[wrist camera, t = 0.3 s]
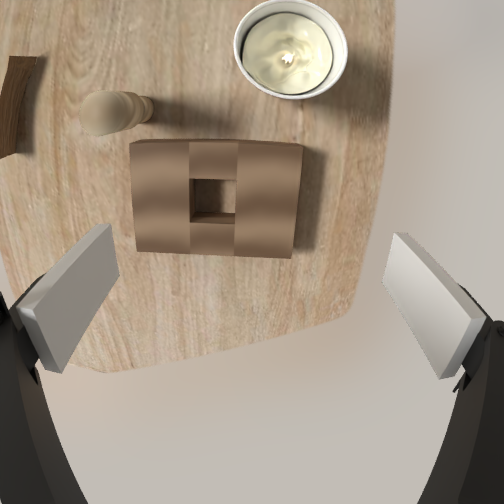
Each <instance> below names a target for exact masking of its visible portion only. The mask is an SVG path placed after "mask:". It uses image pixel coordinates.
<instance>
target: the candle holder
mask: <svg viewBox="0 0 504 504" xmlns="http://www.w3.org/2000/svg"><path fill="white" fill-rule="evenodd" d="M234 54H235V58H236V61H237V64H238V66H239V68H240V70H241V71H242V73H243V74H244V76H245V77H246V78H247V79H248V80H249V81H250V82H251V83H252V84H253V85H254V86H255V87H256V88H257V89H259V90H260V91H262V92H264V93H266V94H269V95H272V96H275V97H279V98H284V99H305V98H310V97H314V96H316V95H319V94H321V93H323V92H325V91H326V90H328V89H329V88H331V87H332V86H333V85H334V84H335V83H336V82H337V81H338V79H339V78H340V77H341V75H342V73H343V71H344V69H345V66H346V63H347V58H348V47H347V41H346V38H345V35H344V33H343V31H342V29H341V27H340V25H339V24H338V23H337V21H336V20H335V19H334V18H333V17H332V16H331V15H330V14H329V13H328V12H327V11H325V10H324V9H322V8H321V7H319V6H317V5H315V4H313V3H311V2H308V1H305V0H270V1H267V2H264V3H262V4H260V5H258V6H256V7H255V8H253V9H252V10H251V11H249V12H248V13H247V14H246V15H245V16H244V18H243V19H242V20H241V22H240V23H239V25H238V27H237V30H236V33H235V37H234Z"/></svg>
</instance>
